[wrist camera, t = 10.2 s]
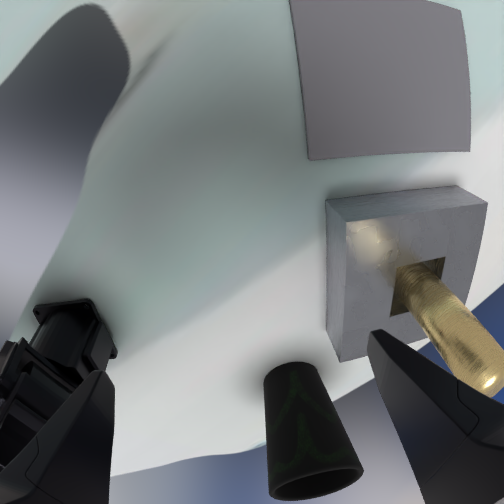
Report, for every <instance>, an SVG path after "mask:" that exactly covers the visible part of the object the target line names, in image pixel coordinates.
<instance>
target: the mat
mask: <svg viewBox="0 0 504 504" xmlns="http://www.w3.org/2000/svg"><path fill="white" fill-rule="evenodd" d="M289 3H290V9H291V15H292V22H293V28H294V35H295V42H296V49H297V56H298V64H299V72H300V80H301V88H302V97H303V106H304V116H305V126H306V136H307V148H308V159H309V160H310V161H312V160H321V159H331V158H342V157H354V156H366V155H381V154H398V153H420V152H470V144H471V98H470V79H469V66H468V56H467V48H466V40H465V33H464V26H463V20H462V15H461V10H458V9H455V8H451V7H448V6H445V5H441V4H438V3H434V2H430V1H426V0H289Z"/></svg>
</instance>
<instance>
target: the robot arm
mask: <svg viewBox="0 0 504 504" xmlns="http://www.w3.org/2000/svg"><path fill="white" fill-rule="evenodd" d="M85 304H86V305H88V306H89V307H88V306H86V305H85ZM38 311H39V312H38ZM33 313H34V315H35V317H36V319H37V320H38V322H39V324H40V325H39V327H38V329H37V330H36V332H35V334H34V336H33V338H32V339H31V341H30V343H29V344H28V342H27V341H26V340H25V339H24V338H23V337H22V338H21V339H20V340H19V341H18V342H16V343H15V342H11V341H6V342H5V343H4V345H3V347H2V348H1V350H0V504H109V485H110V470H111V457H112V446H113V436H114V417H115V388H114V385H113V383H112V381H111V380H110V378H109V377H108V375H107V374H106V372H105V370H106V367H107V364H108V360H109V359H115V358H116V357H117V351H116V349H115V347H114V345H113V341H112V339H111V337H110V335H109V334H108V332H107V330H106V328H105V326H104V324H103V322H102V321H101V319H100V317H99V315H98V313H97V311H96V309H95V307H94V305H93V303H92V301H90V300H88V299H83V300H75V301H68V302H60V303H52V304H45V305H37V306H35V307H34V309H33ZM367 354H368V357H369V360H370V364H371V367H372V370H373V373H374V376H375V379H376V382H377V385H378V389H379V392H380V394H381V396H382V399H383V401H384V403H385V405H386V408H387V410H388V412H389V415H390V417H391V419H392V422H393V424H394V426H395V428H396V431H397V433H398V436H399V438H400V440H401V443H402V445H403V448H404V450H405V452H406V455H407V457H408V459H409V462H410V465H411V467H412V470H413V472H414V475H415V477H416V480H417V482H418V485H419V487H420V491H421V493H422V496H423V499H424V501H425V504H504V404H502V403H500V402H498V401H496V400H494V399H492V398H490V397H488V396H486V395H485V394H483V393H481V392H479V391H477V390H476V389H474V388H472V387H471V386H469V385H468V384H466V383H464V382H463V381H461V380H460V379H457V377H455V376H454V375H452V374H451V373H449V372H447V371H446V370H444V369H443V368H441V367H440V366H438V365H437V364H435V363H434V362H432V361H431V360H429V359H428V358H426V357H425V356H423V355H422V354H420V353H418V352H417V351H415V350H414V349H412V348H411V347H409V346H408V345H406V344H405V343H403V342H402V341H400V340H398V339H397V338H395V337H394V336H392V335H391V334H389V333H388V332H386V331H385V330H383V329H377V330H373V331H371V332H370V333H369V338H368V344H367Z"/></svg>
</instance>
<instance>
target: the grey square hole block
mask: <svg viewBox="0 0 504 504" xmlns="http://www.w3.org/2000/svg"><path fill="white" fill-rule="evenodd" d="M325 204H326V235H327V324H326V331H327V333H328V336H329V338H330V340H331V343H332V345H333V347H334V350H335V352H336V355H337V357H338V359H339V362H340V363H341V362H345V361H349V360H353V359H357V358H361V357H365V356H368V354H367V344H368V338H369V333H370V332H371V331H373V330H377V329H383V330H385V331H386V332H388V333H389V334H391V335H392V336H394V337H395V338H397V339H398V340H400V341H402V342H403V343H405V344H409V343H413V342H416V341H419V340H422V339H425V338H428V336H427V335H426V333H425V332H424V331H423V329H422V328H421V327H420V325H419V324H418V322H417V321H416V320H415V318H414V317H413V316H412V314H411V313H410V312H409V310H408V309H407V308H406V306H405V305H404V304H403V302H402V301H401V300H400V298H399V297H398V296H397V295H396V293H395V292H394V284H395V277H396V269H397V267H400V266H405V265H409V264H414V263H418V262H423V263H424V264H425V265H426V266H427V267H428V268H429V269H430V270H431V271H432V272H433V273H434V274H435V275H436V276H437V277H438V278H439V279H440V280H441V281H442V282H443V283H444V284H445V285H446V286H447V287H448V288H449V289H450V290H451V291H452V292H453V293H454V294H455V295H456V296H457V298H458V299H459V300H460V301H461V302H462V303H463V304H464V305H465V303H466V300H467V297H468V293H469V290H470V286H471V282H472V279H473V275H474V271H475V267H476V263H477V258H478V254H479V249H480V245H481V240H482V235H483V230H484V224H485V218H486V212H487V205H488V202H486V201H484V200H482V199H481V198H479V197H477V196H475V195H473V194H472V193H470V192H468V191H466V190H464V189H462V188H460V187H459V186H447V187H436V188H426V189H416V190H407V191H397V192H389V193H380V194H371V195H363V196H355V197H347V198H339V199H332V200H325Z"/></svg>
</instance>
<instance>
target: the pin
mask: <svg viewBox="0 0 504 504" xmlns="http://www.w3.org/2000/svg"><path fill="white" fill-rule="evenodd" d="M394 292H395V293H396V295H397V296H398V297H399V298H400V300H401V301H402V302H403V304H404V305H405V306H406V308H407V309H408V310H409V312H410V313H411V314H412V316H413V317H414V318H415V320H416V321H417V322H418V324H419V325H420V327H421V328H422V329H423V331H424V332H425V333H426V335H427V336H428V338H429V339H430V340H431V342H432V343H433V345H434V346H435V348H436V349H437V350H438V352H439V353H440V355H441V356H442V358H443V359H444V361H445V362H446V363H447V365H448V366H449V368H450V369H451V371H452V372H453V374H454V376H455V377H457V379H460V380H461V381H463V382H464V383H466V384H468V385H469V386H471V387H472V388H474V389H476V390H477V391H479V392H481V393H483V394H485V395H486V396H488V397H490V398H491V397H493V396H494V395H495V394H496V393H497V392H499V390H501V388H503V387H504V350H503V349H502V348H501V347H500V346H499V344H498V343H497V342H496V341H495V339H494V338H493V337H492V336H491V335H490V333H489V332H488V331H487V330H486V329H485V328H484V327H483V325H482V324H481V323H480V322H479V321H478V320H477V318H475V316H474V315H473V314H472V313H471V312H470V311H469V310H468V308H467V307H466V306H465V305H464V304H463V303H462V302H461V301H460V300H459V299H458V298H457V296H456V295H455V294H454V293H453V292H452V291H451V290H450V289H449V288H448V287H447V286H446V285H445V284H444V283H443V282H442V281H441V280H440V279H439V278H438V277H437V276H436V275H435V274H434V273H433V272H432V271H431V270H430V269H429V268H428V267H427V266H426V265H425V264H424V263H423V262H418V263H414V264H409V265H405V266H400V267H397V269H396V277H395V284H394Z"/></svg>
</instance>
